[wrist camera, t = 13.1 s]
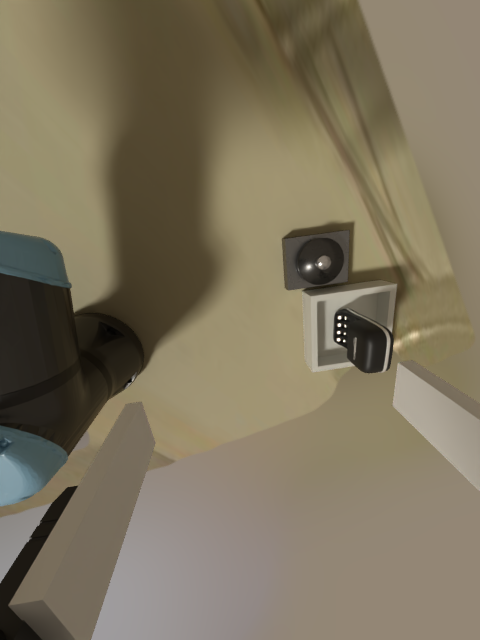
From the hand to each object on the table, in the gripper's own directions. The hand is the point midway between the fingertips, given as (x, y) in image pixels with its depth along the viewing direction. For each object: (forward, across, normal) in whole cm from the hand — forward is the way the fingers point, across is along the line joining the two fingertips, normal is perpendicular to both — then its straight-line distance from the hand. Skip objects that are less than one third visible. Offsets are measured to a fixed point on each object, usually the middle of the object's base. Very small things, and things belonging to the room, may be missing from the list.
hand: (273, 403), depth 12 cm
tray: (+29, +18, -9) cm, 35 cm away
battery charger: (+28, +17, -9) cm, 34 cm away
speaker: (+29, +13, +3) cm, 32 cm away
